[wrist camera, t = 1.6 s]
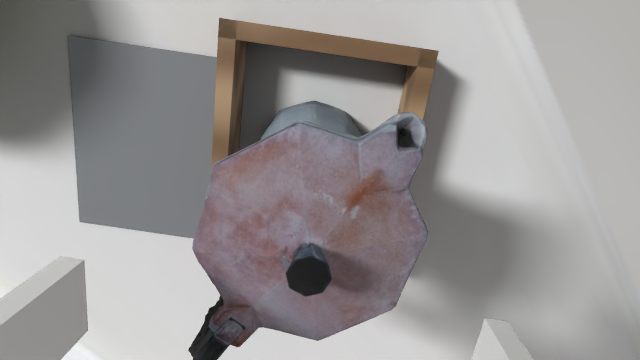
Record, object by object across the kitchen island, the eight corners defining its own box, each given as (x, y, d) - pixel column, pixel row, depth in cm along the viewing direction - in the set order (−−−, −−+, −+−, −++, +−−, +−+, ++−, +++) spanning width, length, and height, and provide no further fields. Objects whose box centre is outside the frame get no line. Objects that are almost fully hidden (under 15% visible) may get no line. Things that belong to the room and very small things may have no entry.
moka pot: (416, 119, 30) (555, 221, 11) (305, 253, 34) (270, 494, 15) (321, 45, 29) (298, 17, 10) (217, 194, 33) (58, 380, 14)
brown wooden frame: (232, 22, 28) (219, 18, 25) (426, 51, 29) (438, 50, 25) (219, 231, 34) (206, 249, 31) (382, 254, 34) (387, 275, 31)
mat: (69, 35, 29) (67, 35, 29) (226, 59, 29) (225, 59, 29) (80, 220, 34) (79, 221, 34) (215, 240, 34) (214, 241, 34)
